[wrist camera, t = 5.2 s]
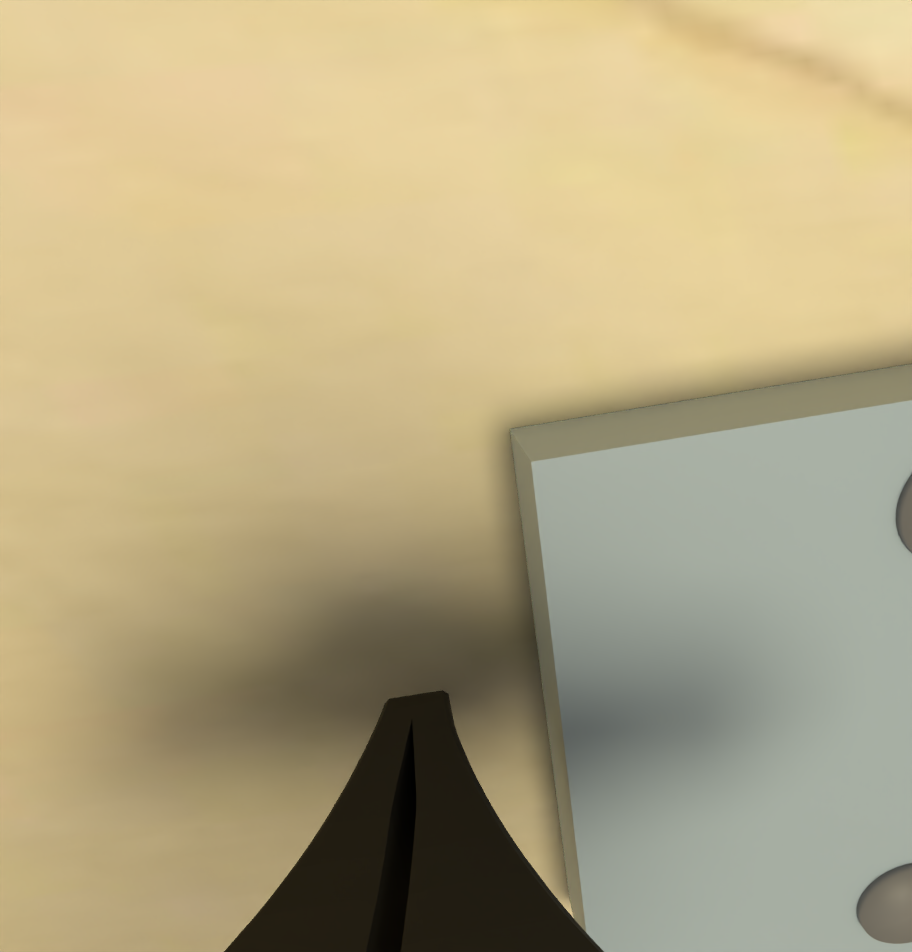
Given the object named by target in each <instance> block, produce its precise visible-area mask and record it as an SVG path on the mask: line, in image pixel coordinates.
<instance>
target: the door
mask: <svg viewBox="0 0 912 952" xmlns="http://www.w3.org/2000/svg"><path fill="white" fill-rule="evenodd" d="M510 436H511V444H512V452H513V459H514V467H515V475H516V483H517V491H518V499H519V507H520V515H521V522H522V530H523V538H524V546H525V554H526V562H527V570H528V577H529V585H530V593H531V601H532V609H533V617H534V625H535V632H536V640H537V648H538V656H539V664H540V672H541V680H542V688H543V695H544V703H545V711H546V719H547V727H548V735H549V743H550V750H551V758H552V766H553V774H554V782H555V790H556V798H557V805H558V813H559V821H560V829H561V837H562V845H563V853H564V861H565V868H566V876H567V884H568V892H569V899H570V903H571V907H572V912H573V916H574V920H575V921H576V922H577V923H578V924H579V925H580V926H581V927H582V928H583V930H584V931H585V932H586V933H587V934H588V935H589V936H590V937H591V938H592V939H593V940H594V942H595V943H596V944H597V945H598V946H599V947H600V948H601V949H602V950H603V951H604V952H912V364H906V365H900V366H894V367H888V368H882V369H876V370H870V371H863V372H857V373H851V374H845V375H839V376H833V377H826V378H820V379H814V380H808V381H802V382H796V383H789V384H783V385H777V386H771V387H765V388H759V389H752V390H746V391H740V392H734V393H728V394H722V395H716V396H709V397H703V398H697V399H691V400H685V401H679V402H672V403H666V404H660V405H654V406H648V407H642V408H635V409H629V410H623V411H617V412H611V413H605V414H598V415H592V416H586V417H580V418H574V419H568V420H562V421H555V422H549V423H543V424H537V425H531V426H525V427H518V428H512V429H510Z"/></svg>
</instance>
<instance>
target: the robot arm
mask: <svg viewBox="0 0 912 952" xmlns="http://www.w3.org/2000/svg"><path fill="white" fill-rule="evenodd" d="M224 952H604V951H603V950H602V949H601V948H600V947H599V946H598V945H597V944H596V943H595V942H594V940H593V939H592V938H591V937H590V936H589V935H588V934H587V933H586V932H585V931H584V930H583V928H582V927H581V926H580V925H579V924H578V923H577V922H576V921H575V920H574V918H573V917H572V916H571V915H570V914H569V913H568V911H567V910H566V909H565V908H564V907H563V905H562V904H561V903H560V902H559V901H558V899H557V898H556V897H555V896H554V895H553V893H552V892H551V891H550V890H549V888H548V887H547V886H546V884H545V883H544V882H543V880H542V879H541V878H540V876H539V875H538V874H537V872H536V871H535V870H534V868H533V867H532V866H531V864H530V863H529V862H528V861H527V859H526V858H525V857H524V855H523V854H522V852H521V851H520V850H519V848H518V847H517V845H516V844H515V842H514V841H513V839H512V838H511V836H510V835H509V833H508V832H507V830H506V828H505V827H504V825H503V824H502V822H501V820H500V819H499V817H498V816H497V814H496V812H495V811H494V809H493V807H492V806H491V804H490V802H489V800H488V798H487V797H486V795H485V793H484V791H483V789H482V787H481V785H480V784H479V782H478V780H477V778H476V776H475V774H474V772H473V770H472V768H471V766H470V763H469V761H468V759H467V756H466V754H465V752H464V750H463V747H462V745H461V743H460V740H459V737H458V735H457V732H456V729H455V726H454V721H453V716H452V711H451V705H450V700H449V695H448V694H447V693H446V692H444V691H443V690H442V691H436V692H430V693H423V694H417V695H411V696H405V697H398V698H392V699H389V700H388V701H387V702H386V703H385V705H384V708H383V710H382V713H381V715H380V717H379V720H378V722H377V724H376V727H375V729H374V731H373V733H372V735H371V738H370V740H369V742H368V744H367V746H366V748H365V750H364V752H363V754H362V756H361V758H360V760H359V762H358V764H357V766H356V768H355V770H354V771H353V773H352V775H351V777H350V779H349V781H348V783H347V785H346V786H345V788H344V790H343V791H342V793H341V795H340V797H339V798H338V800H337V802H336V803H335V805H334V807H333V809H332V810H331V812H330V814H329V815H328V817H327V819H326V820H325V822H324V823H323V825H322V826H321V828H320V830H319V831H318V833H317V834H316V836H315V837H314V839H313V840H312V842H311V843H310V845H309V846H308V848H307V849H306V850H305V852H304V853H303V855H302V856H301V858H300V859H299V860H298V862H297V863H296V865H295V866H294V867H293V869H292V870H291V871H290V873H289V874H288V875H287V877H286V878H285V879H284V880H283V882H282V883H281V884H280V886H279V887H278V888H277V890H276V891H275V892H274V894H273V895H272V896H271V897H270V899H269V900H268V901H267V902H266V904H265V905H264V906H263V907H262V909H261V910H260V911H259V912H258V914H257V915H256V916H255V917H254V918H253V919H252V920H251V922H250V923H249V924H248V925H247V926H246V927H245V928H244V930H243V931H242V932H241V933H240V934H239V935H238V936H237V938H236V939H235V940H234V941H233V942H232V943H231V944H230V946H229V947H228V948H227V949H226V950H225V951H224Z"/></svg>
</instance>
